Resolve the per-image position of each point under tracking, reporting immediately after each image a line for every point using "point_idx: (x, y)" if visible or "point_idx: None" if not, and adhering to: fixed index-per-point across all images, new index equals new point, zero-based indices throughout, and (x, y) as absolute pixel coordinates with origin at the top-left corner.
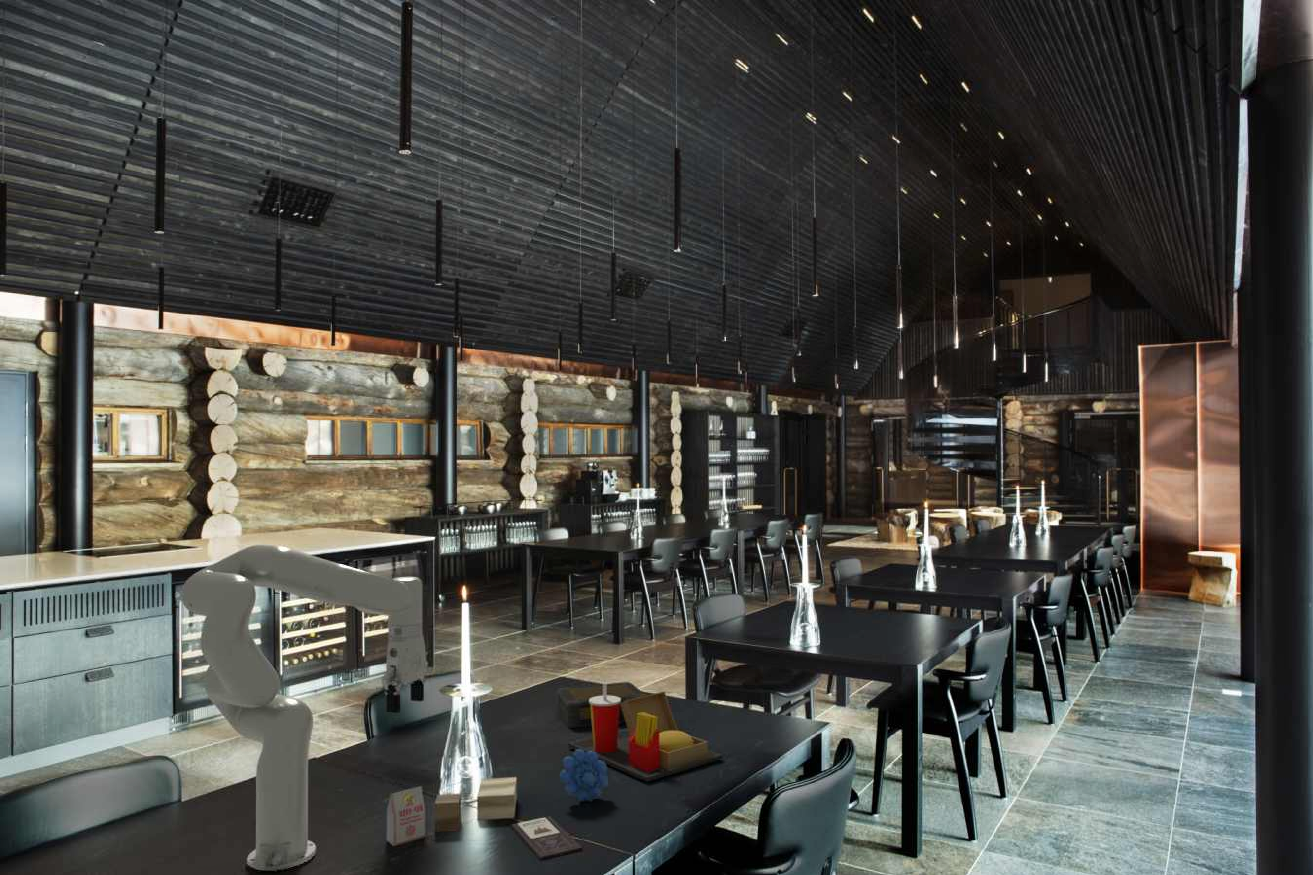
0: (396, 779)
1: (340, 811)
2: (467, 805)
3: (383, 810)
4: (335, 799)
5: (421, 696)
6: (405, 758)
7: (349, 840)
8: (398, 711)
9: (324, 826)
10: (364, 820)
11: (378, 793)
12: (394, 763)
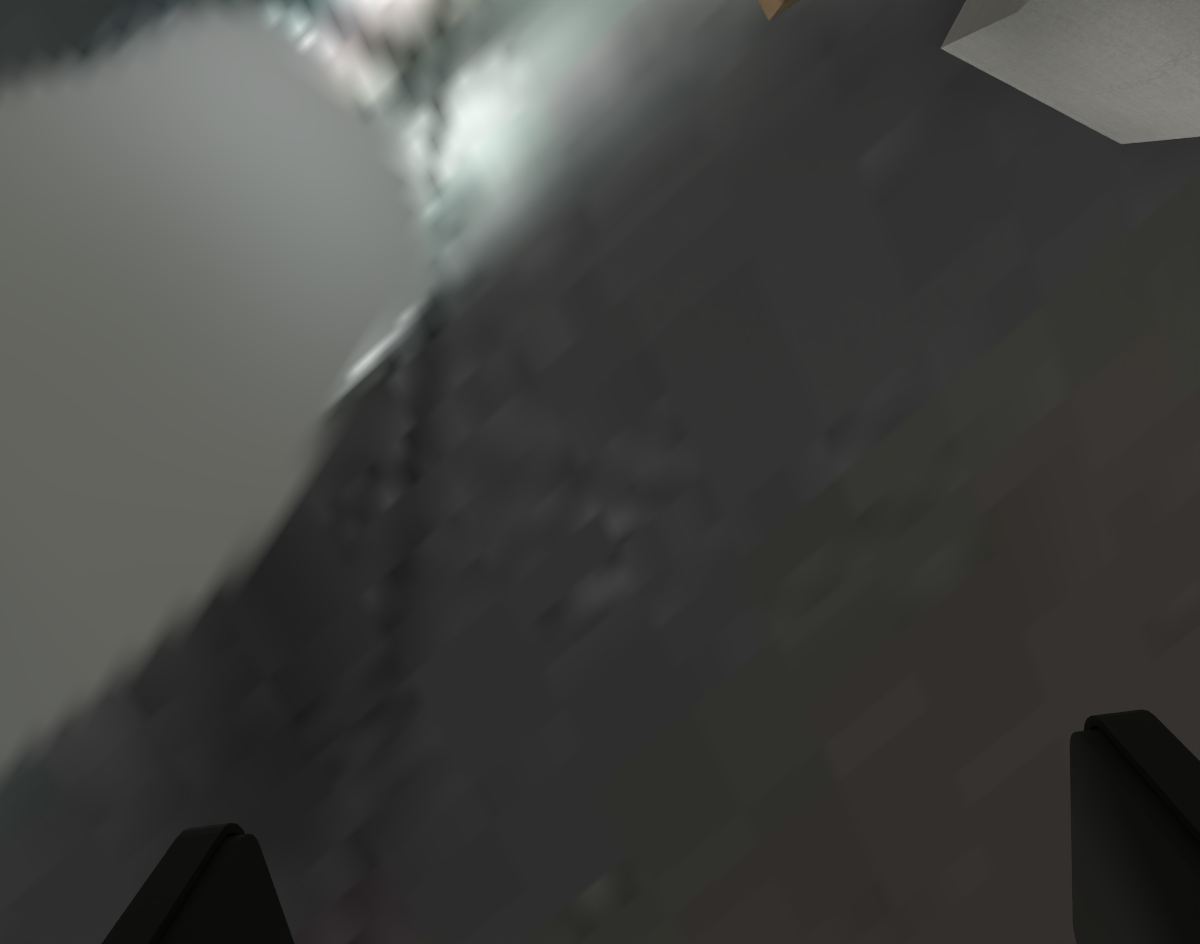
0: (338, 742)
1: (845, 694)
2: (447, 26)
3: (743, 490)
4: (718, 828)
5: (210, 898)
6: (73, 905)
7: (1184, 359)
8: (1153, 721)
9: (1050, 626)
10: (907, 487)
11: (550, 689)
12: None
